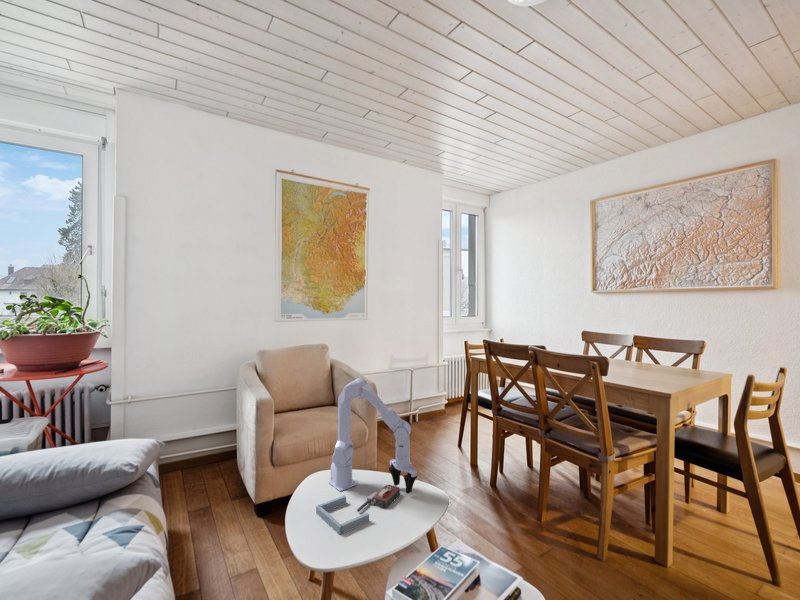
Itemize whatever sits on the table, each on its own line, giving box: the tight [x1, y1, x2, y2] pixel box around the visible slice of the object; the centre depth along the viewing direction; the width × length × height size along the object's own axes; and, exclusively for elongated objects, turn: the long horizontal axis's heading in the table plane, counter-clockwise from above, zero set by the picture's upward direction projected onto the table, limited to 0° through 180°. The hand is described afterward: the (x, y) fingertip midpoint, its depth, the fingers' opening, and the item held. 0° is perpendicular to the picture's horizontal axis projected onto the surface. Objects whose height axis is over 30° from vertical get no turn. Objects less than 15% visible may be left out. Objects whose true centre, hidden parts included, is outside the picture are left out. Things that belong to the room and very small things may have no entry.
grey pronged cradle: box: [315, 494, 370, 536], centre depth 133 cm, size 16×12×2 cm
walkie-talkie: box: [356, 484, 401, 513], centre depth 143 cm, size 9×4×20 cm
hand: (402, 488), depth 150 cm, fingers open, 7 cm apart
